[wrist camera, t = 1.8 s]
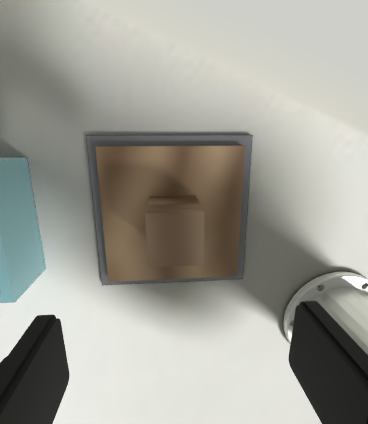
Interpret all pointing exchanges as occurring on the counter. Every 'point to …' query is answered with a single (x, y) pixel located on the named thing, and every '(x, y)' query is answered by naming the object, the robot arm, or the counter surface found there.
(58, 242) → the counter surface
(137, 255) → the lid
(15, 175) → the open box
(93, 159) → the mat
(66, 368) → the robot arm
